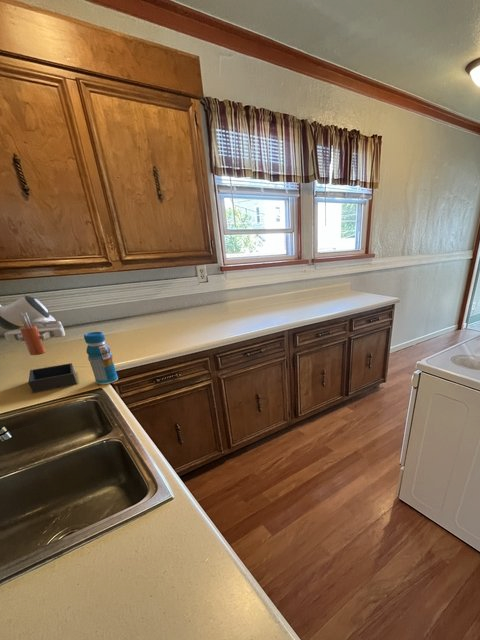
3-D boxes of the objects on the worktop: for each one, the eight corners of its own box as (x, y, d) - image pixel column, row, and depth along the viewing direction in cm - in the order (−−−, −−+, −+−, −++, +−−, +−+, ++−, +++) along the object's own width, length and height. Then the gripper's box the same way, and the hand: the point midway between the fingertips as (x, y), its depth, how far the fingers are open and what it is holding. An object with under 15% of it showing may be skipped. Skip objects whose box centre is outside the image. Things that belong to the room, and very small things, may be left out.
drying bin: (32, 392, 125) (28, 381, 123) (34, 380, 136) (30, 370, 134) (77, 383, 133) (73, 373, 131) (75, 372, 143) (71, 363, 141)
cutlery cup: (29, 356, 132) (12, 314, 124) (30, 352, 136) (14, 312, 128) (46, 353, 135) (31, 313, 127) (46, 350, 139) (31, 310, 131)
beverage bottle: (94, 386, 130) (79, 337, 121) (97, 378, 137) (82, 332, 128) (118, 383, 133) (104, 335, 124) (119, 375, 140) (106, 330, 131)
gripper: (7, 325, 138) (-4, 333, 127) (64, 320, 145) (58, 328, 134) (13, 340, 141) (3, 349, 129) (69, 334, 148) (63, 342, 137)
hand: (31, 338), depth 132 cm, fingers closed on cutlery cup, 5 cm apart
